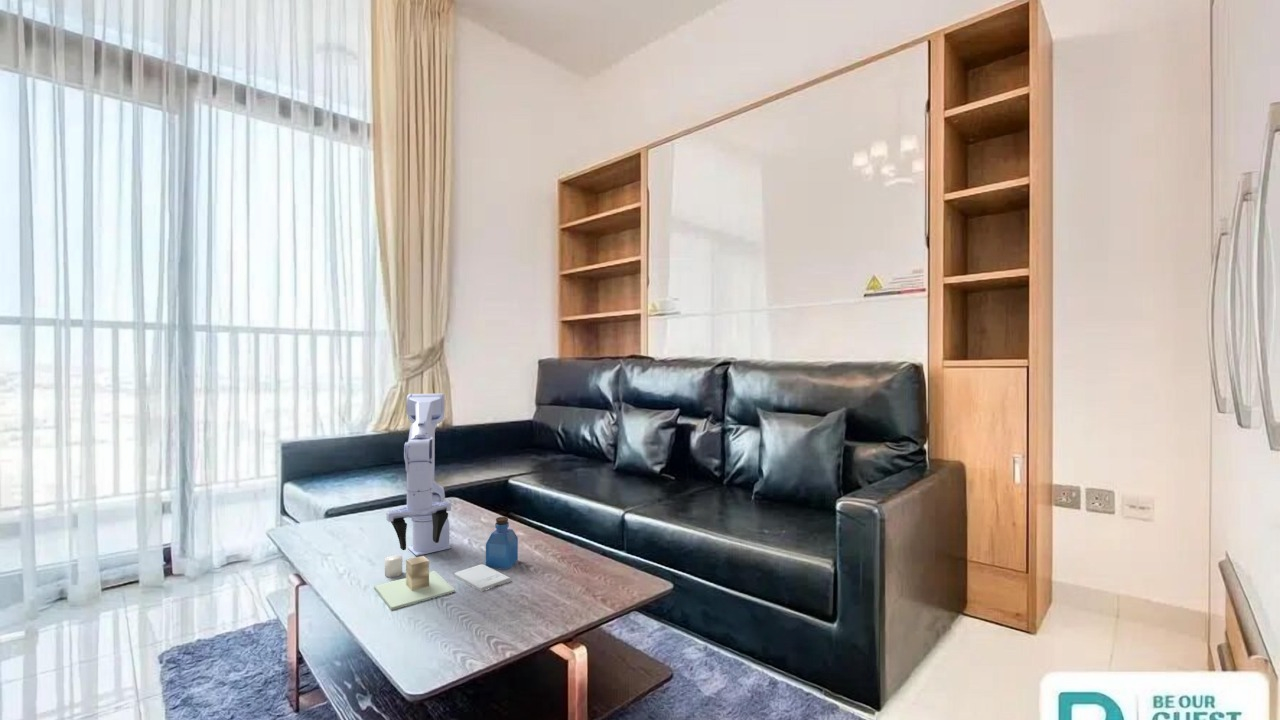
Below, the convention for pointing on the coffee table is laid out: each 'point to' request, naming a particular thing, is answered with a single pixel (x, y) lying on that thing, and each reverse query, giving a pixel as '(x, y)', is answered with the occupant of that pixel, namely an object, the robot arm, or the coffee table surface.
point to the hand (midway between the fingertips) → (419, 545)
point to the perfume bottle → (502, 546)
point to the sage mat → (401, 594)
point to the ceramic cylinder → (393, 566)
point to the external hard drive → (481, 577)
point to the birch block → (417, 572)
